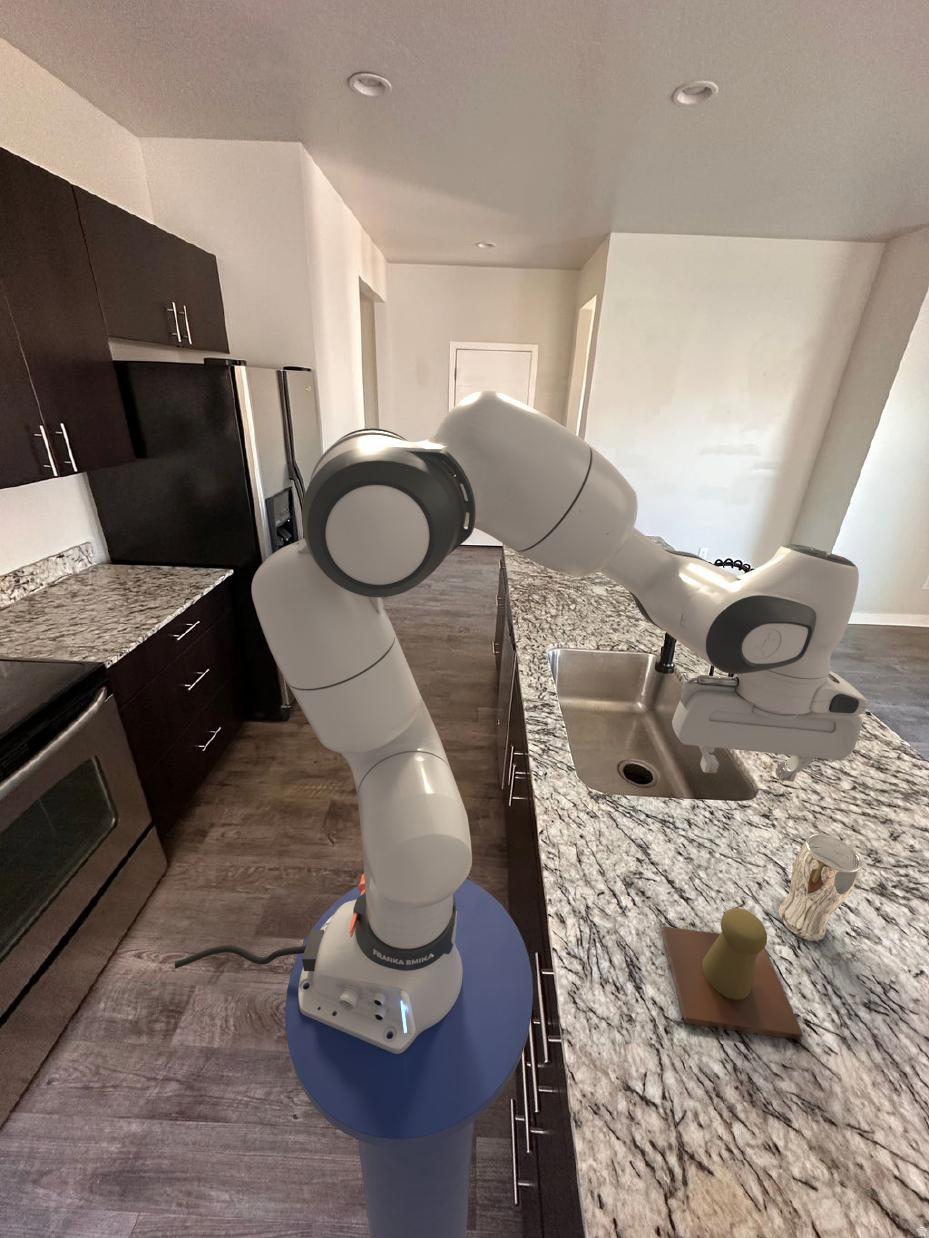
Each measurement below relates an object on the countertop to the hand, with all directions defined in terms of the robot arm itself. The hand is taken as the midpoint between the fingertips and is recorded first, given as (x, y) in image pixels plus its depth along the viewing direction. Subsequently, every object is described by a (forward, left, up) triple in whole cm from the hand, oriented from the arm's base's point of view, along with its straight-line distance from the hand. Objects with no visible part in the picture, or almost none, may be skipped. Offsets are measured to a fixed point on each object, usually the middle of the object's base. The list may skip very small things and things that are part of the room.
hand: (745, 773), depth 63 cm
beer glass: (+16, +2, -29) cm, 33 cm away
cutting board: (+1, -8, -29) cm, 30 cm away
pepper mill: (+1, -8, -28) cm, 29 cm away
